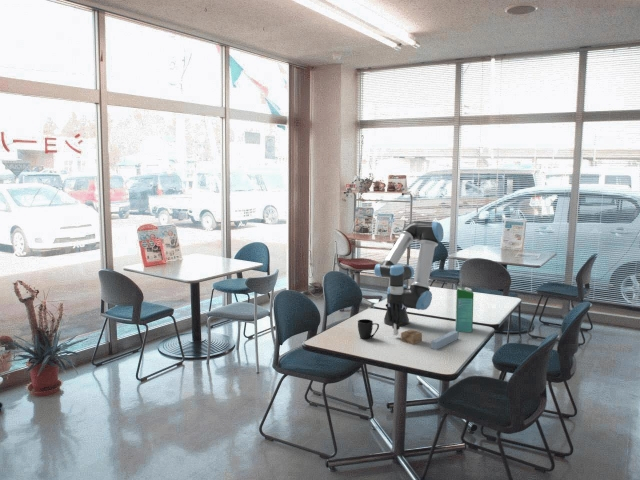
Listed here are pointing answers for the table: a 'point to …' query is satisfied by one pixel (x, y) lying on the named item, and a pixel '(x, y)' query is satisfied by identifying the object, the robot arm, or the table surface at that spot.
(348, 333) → the table surface
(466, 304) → the milk carton
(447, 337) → the pale blue bar
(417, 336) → the block
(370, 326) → the mug
